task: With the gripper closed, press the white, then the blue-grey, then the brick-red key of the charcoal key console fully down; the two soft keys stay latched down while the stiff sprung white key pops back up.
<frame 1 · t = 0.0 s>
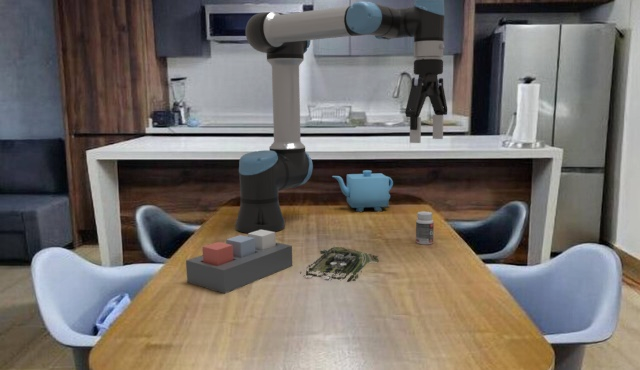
hand: (426, 140, 142), 28 cm above the table, fingers open, 13 cm apart
pill bottle: (424, 243, 147), on the table
teapot: (362, 209, 191), on the table
treatment plant: (340, 267, 130), on the table
white key: (261, 240, 128), point 6 cm above the table, slide at 0.1 cm
console: (241, 273, 124), on the table
blue key: (240, 247, 123), point 6 cm above the table, slide at 0.0 cm
red key: (218, 254, 117), point 6 cm above the table, slide at 0.0 cm
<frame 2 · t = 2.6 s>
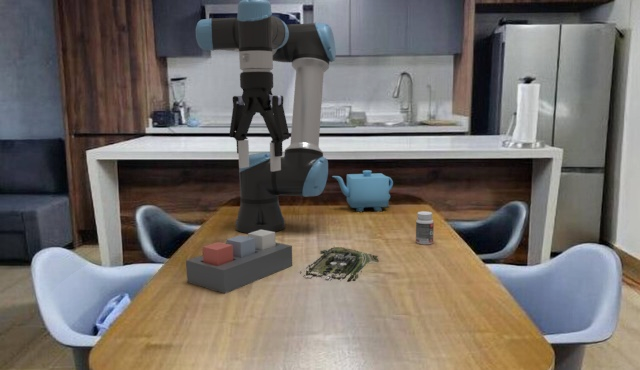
hand: (259, 169, 125), 24 cm above the table, fingers open, 9 cm apart
nothing on the table moved.
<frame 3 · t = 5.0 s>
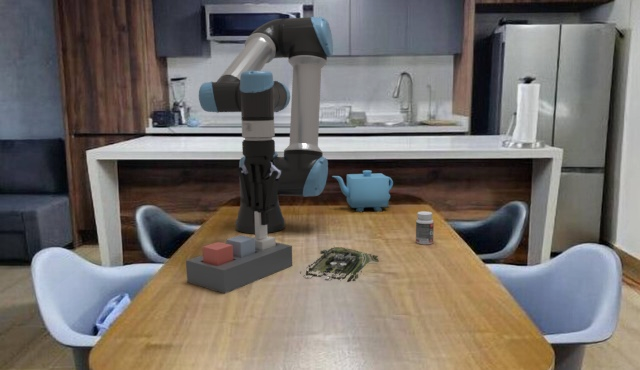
hand: (261, 237, 128), 7 cm above the table, fingers closed
white key: (262, 246, 128), point 5 cm above the table, slide at 1.5 cm, touching gripper
everything else where it was.
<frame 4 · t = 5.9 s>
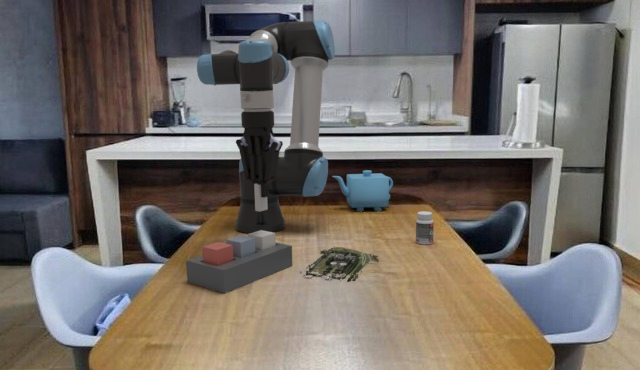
hand: (261, 210, 127), 14 cm above the table, fingers closed
white key: (261, 241, 128), point 6 cm above the table, slide at 0.3 cm
everything else where it was.
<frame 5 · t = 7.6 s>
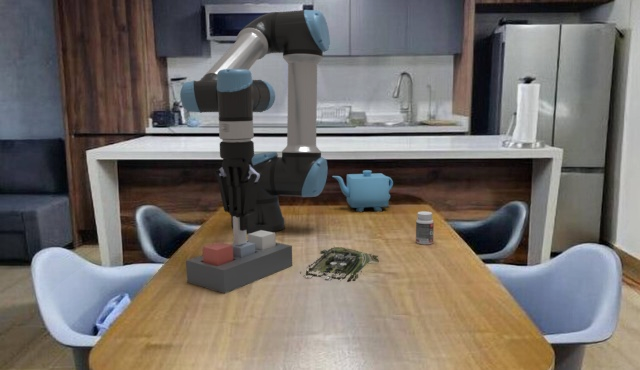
hand: (240, 243, 122), 7 cm above the table, fingers closed
blue key: (241, 252, 123), point 5 cm above the table, slide at 1.3 cm, touching gripper
everything else where it was.
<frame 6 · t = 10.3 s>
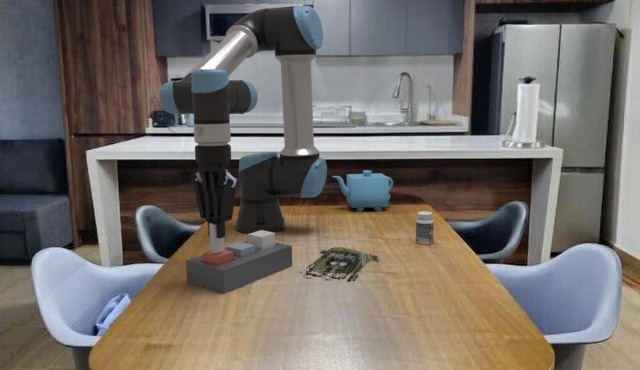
hand: (217, 251, 117), 7 cm above the table, fingers closed
blue key: (241, 254, 123), point 5 cm above the table, slide at 1.7 cm
red key: (218, 261, 117), point 5 cm above the table, slide at 1.5 cm, touching gripper
everything else where it was.
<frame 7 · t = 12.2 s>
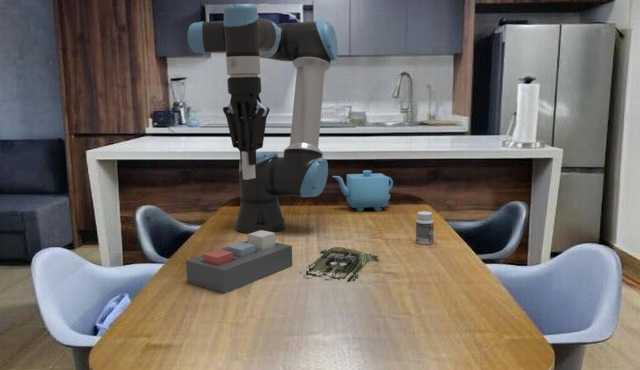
hand: (249, 178, 126), 21 cm above the table, fingers closed
red key: (218, 262, 117), point 5 cm above the table, slide at 1.7 cm
everything else where it was.
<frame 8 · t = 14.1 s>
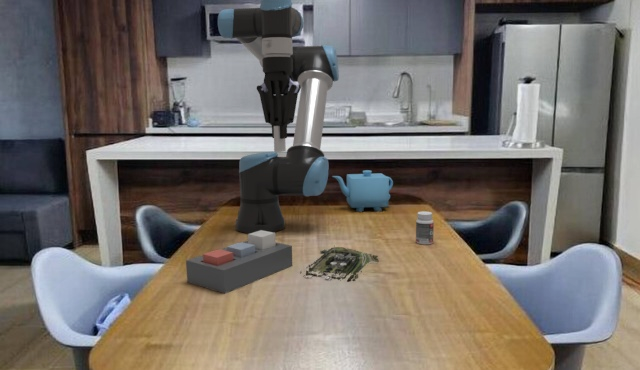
hand: (279, 151, 137), 26 cm above the table, fingers closed
nothing on the table moved.
at the end: red key slide at 1.7 cm; blue key slide at 1.7 cm; white key slide at 0.3 cm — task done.
